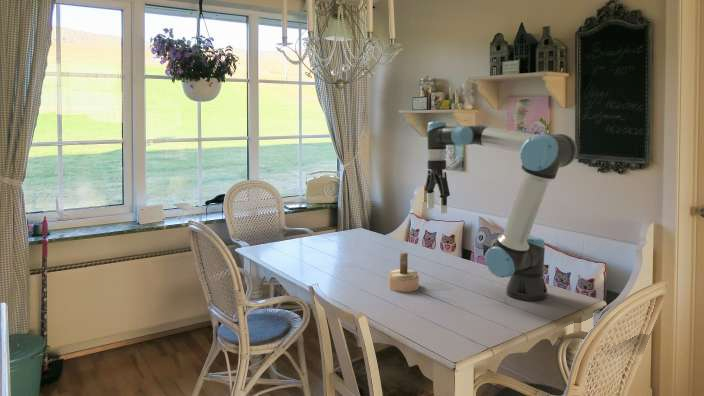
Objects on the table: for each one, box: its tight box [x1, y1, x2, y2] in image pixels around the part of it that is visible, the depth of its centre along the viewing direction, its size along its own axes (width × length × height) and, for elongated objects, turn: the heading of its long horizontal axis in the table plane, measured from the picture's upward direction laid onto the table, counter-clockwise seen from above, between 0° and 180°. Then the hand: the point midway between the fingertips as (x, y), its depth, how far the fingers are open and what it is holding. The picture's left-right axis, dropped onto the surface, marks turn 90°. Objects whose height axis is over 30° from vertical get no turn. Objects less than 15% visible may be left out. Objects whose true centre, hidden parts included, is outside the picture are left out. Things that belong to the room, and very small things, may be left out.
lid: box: [389, 252, 419, 280], centre depth 211 cm, size 11×11×9 cm
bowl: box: [387, 273, 420, 293], centre depth 213 cm, size 12×12×6 cm
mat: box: [419, 281, 452, 292], centre depth 213 cm, size 10×10×1 cm
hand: (436, 210), depth 219 cm, fingers open, 13 cm apart
